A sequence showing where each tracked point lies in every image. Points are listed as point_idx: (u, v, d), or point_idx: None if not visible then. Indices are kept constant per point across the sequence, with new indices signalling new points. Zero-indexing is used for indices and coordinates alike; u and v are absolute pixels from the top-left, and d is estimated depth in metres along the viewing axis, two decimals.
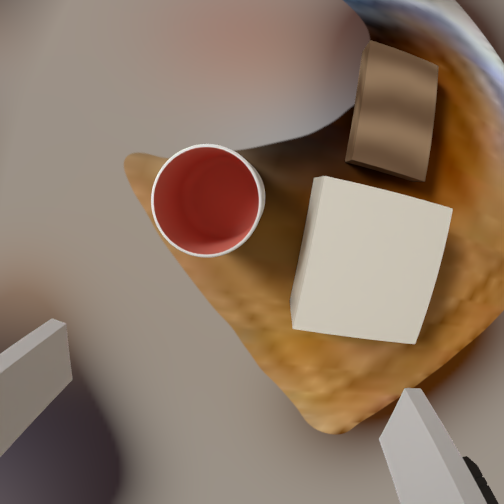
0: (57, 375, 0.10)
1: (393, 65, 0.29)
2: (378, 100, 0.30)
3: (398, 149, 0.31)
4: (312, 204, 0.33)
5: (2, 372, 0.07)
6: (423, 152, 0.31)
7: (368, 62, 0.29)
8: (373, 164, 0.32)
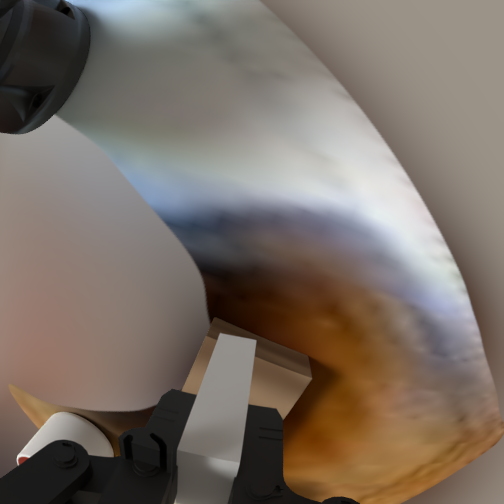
0: None
1: None
2: None
3: None
4: None
5: (223, 395, 0.09)
6: None
7: (194, 366, 0.24)
8: None
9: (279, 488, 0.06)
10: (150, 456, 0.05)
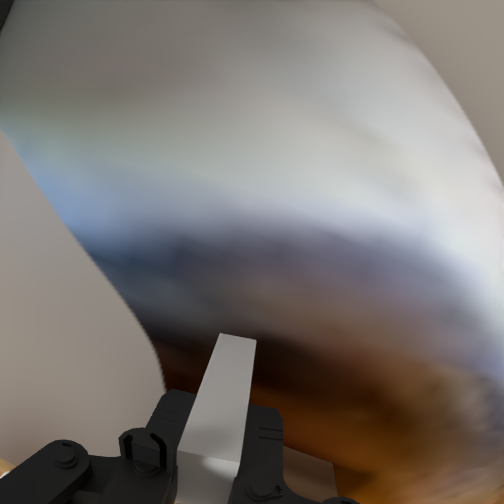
0: None
1: None
2: None
3: None
4: None
5: (223, 395, 0.09)
6: None
7: None
8: None
9: (279, 488, 0.06)
10: (150, 456, 0.05)
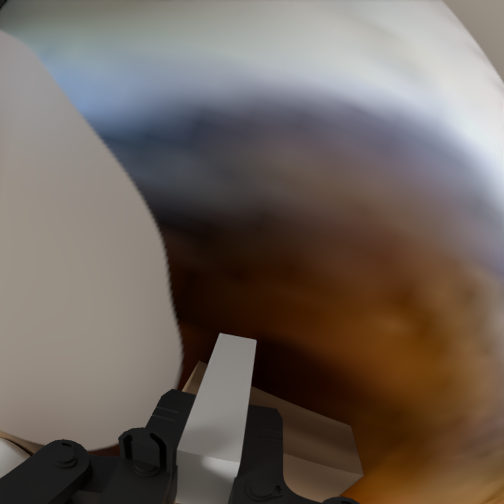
0: None
1: None
2: None
3: None
4: None
5: (223, 395, 0.09)
6: None
7: None
8: None
9: (279, 488, 0.06)
10: (150, 456, 0.05)
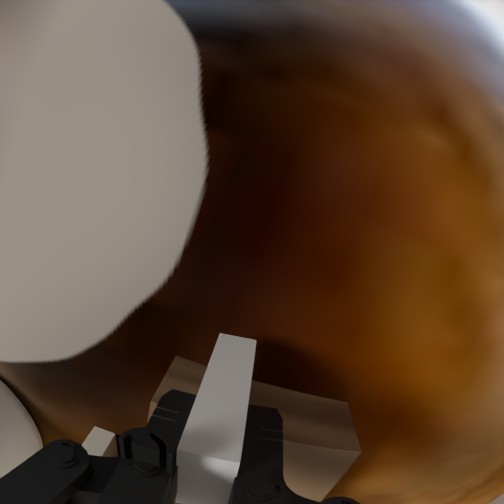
0: None
1: None
2: None
3: None
4: None
5: (223, 395, 0.09)
6: None
7: None
8: None
9: (279, 488, 0.06)
10: (150, 456, 0.05)
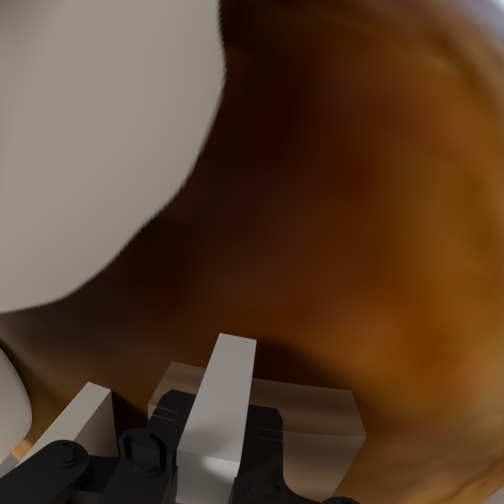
0: None
1: None
2: None
3: None
4: None
5: (223, 395, 0.09)
6: None
7: None
8: None
9: (279, 488, 0.06)
10: (150, 456, 0.05)
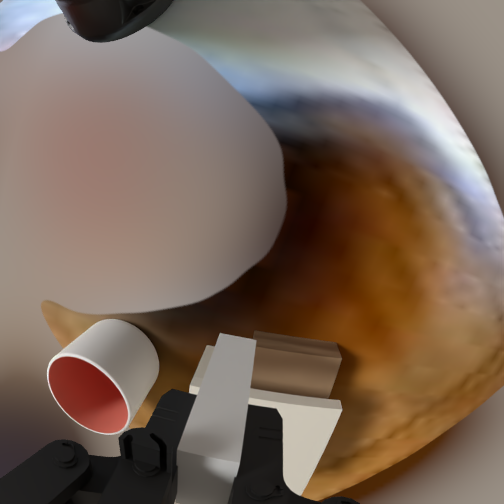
0: None
1: (278, 372, 0.30)
2: None
3: None
4: None
5: (223, 395, 0.09)
6: None
7: None
8: None
9: (279, 488, 0.06)
10: (150, 456, 0.05)
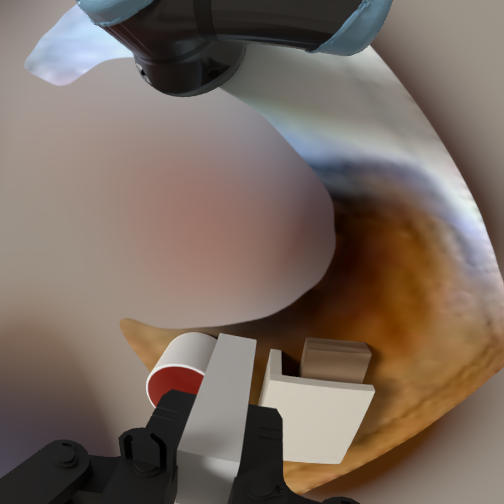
0: None
1: (326, 366, 0.41)
2: None
3: None
4: (266, 376, 0.42)
5: (223, 395, 0.09)
6: None
7: (304, 368, 0.41)
8: None
9: (279, 488, 0.06)
10: (150, 456, 0.05)
